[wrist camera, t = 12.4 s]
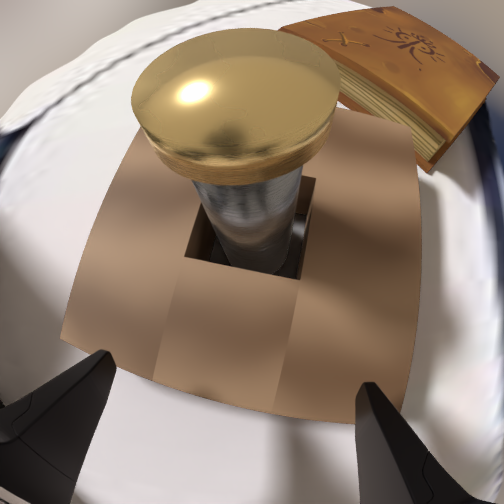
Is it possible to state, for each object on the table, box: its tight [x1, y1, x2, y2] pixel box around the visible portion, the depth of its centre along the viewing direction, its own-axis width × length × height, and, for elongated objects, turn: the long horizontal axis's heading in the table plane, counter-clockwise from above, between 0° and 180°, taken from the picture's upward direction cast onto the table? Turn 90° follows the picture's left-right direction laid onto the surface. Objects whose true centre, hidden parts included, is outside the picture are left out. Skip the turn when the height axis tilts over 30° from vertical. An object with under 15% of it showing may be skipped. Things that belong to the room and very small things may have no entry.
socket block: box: [60, 107, 422, 424], centre depth 16 cm, size 18×18×4 cm
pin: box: [131, 28, 341, 275], centre depth 12 cm, size 5×5×13 cm
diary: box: [278, 6, 500, 173], centre depth 22 cm, size 23×19×6 cm
